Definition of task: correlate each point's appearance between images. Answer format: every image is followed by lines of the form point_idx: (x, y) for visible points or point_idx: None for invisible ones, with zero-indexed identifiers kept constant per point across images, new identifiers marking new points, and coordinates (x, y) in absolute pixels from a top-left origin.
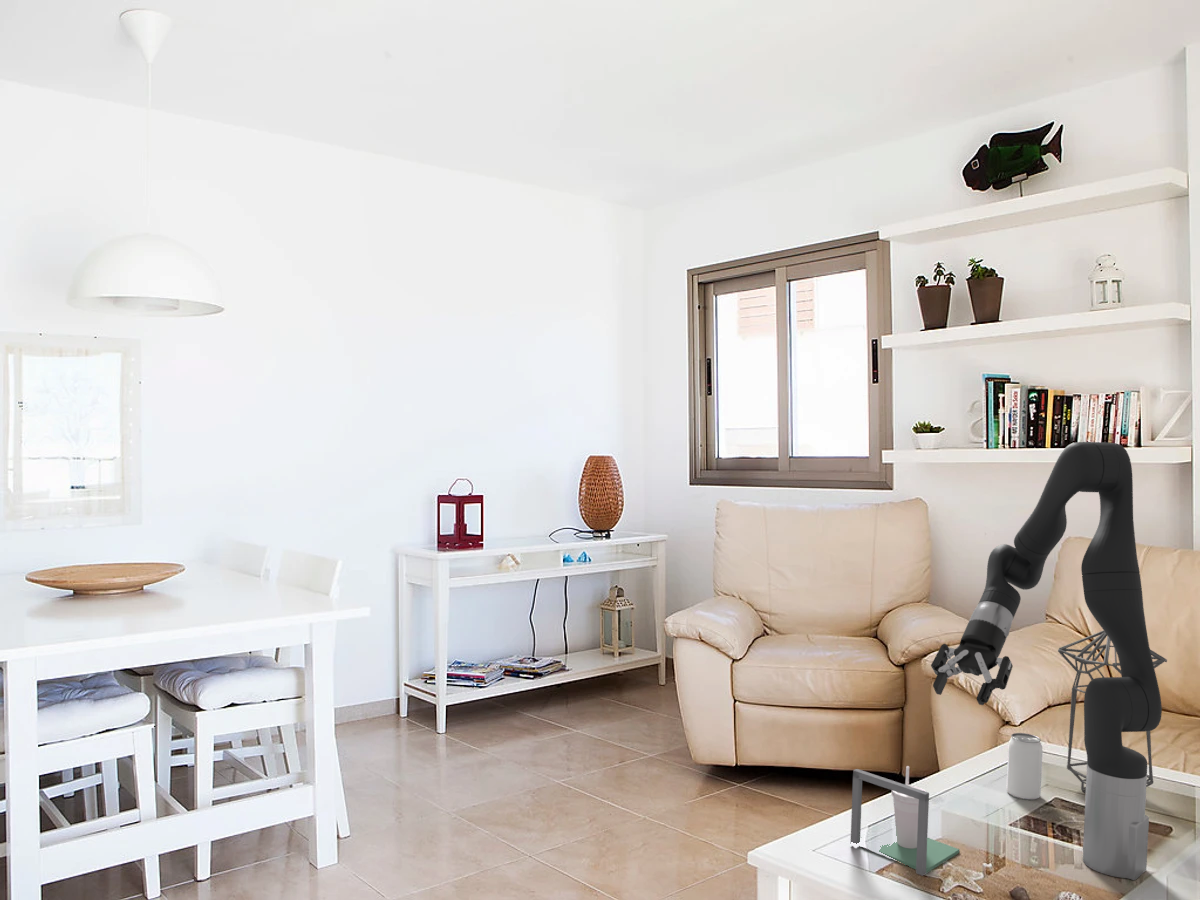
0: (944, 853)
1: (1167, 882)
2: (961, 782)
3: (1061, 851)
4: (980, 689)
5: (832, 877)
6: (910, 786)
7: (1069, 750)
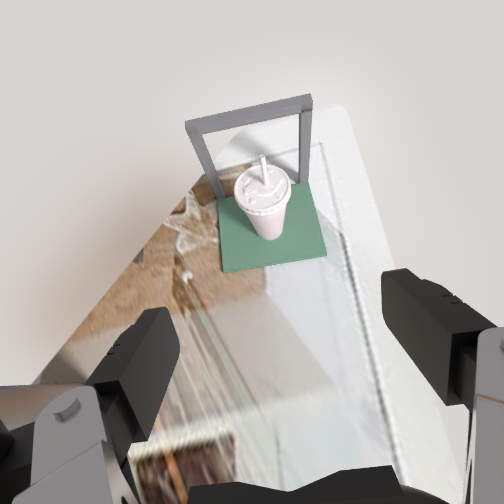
0: (227, 246)
1: None
2: None
3: None
4: (140, 338)
5: (267, 127)
6: (276, 202)
7: None
